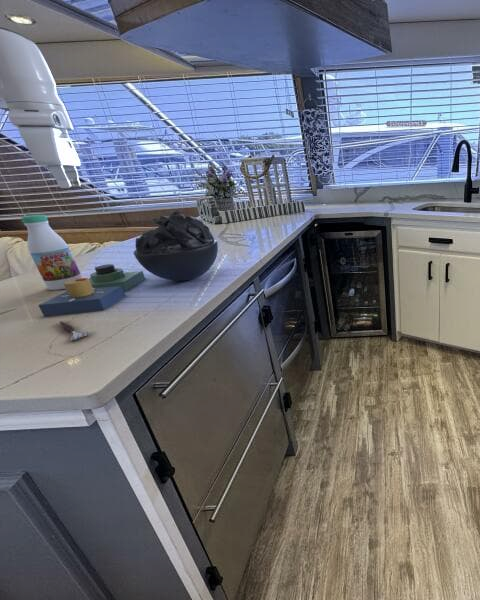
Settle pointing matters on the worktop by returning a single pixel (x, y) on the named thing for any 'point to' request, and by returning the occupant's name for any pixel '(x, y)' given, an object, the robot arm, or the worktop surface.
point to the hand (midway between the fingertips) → (71, 187)
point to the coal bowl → (177, 248)
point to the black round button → (105, 269)
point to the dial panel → (82, 302)
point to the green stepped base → (117, 279)
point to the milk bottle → (50, 253)
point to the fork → (70, 329)
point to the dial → (78, 287)
